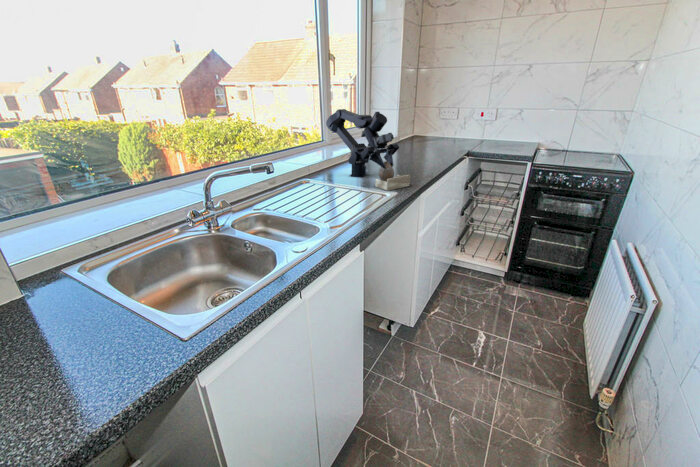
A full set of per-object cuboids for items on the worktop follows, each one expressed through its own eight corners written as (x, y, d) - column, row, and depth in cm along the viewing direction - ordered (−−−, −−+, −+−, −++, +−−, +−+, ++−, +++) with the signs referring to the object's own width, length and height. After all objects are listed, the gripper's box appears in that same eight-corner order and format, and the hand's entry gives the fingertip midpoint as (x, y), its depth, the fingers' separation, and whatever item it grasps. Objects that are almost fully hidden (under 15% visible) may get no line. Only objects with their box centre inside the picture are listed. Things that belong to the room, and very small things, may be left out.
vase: (377, 183, 149) (377, 163, 145) (380, 178, 155) (380, 160, 151) (392, 183, 147) (393, 164, 143) (394, 178, 153) (395, 160, 149)
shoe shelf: (375, 186, 147) (375, 175, 145) (396, 181, 155) (397, 171, 153) (388, 190, 141) (388, 179, 139) (409, 185, 148) (410, 174, 146)
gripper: (365, 128, 139) (381, 158, 135) (397, 125, 149) (413, 153, 145) (354, 144, 148) (369, 173, 144) (385, 141, 158) (400, 167, 154)
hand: (388, 166), depth 147 cm, fingers closed on vase, 4 cm apart
